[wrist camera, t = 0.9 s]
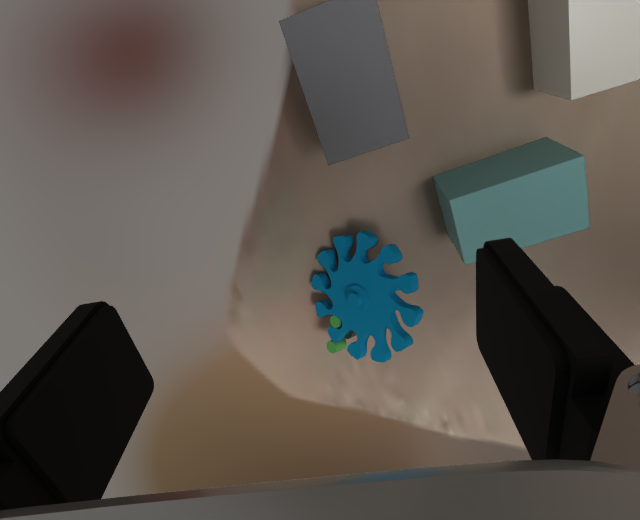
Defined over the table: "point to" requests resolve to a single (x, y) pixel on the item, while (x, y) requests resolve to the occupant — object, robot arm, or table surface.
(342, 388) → the table surface
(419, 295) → the table surface
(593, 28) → the cream block
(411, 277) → the gear
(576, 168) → the teal block
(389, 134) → the charcoal block
